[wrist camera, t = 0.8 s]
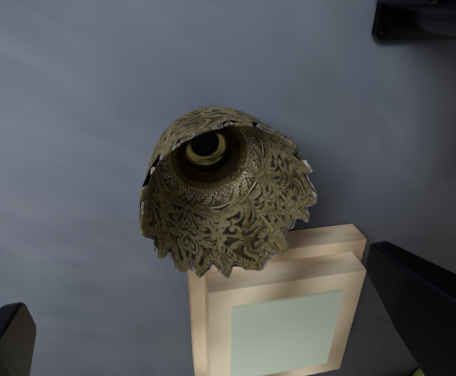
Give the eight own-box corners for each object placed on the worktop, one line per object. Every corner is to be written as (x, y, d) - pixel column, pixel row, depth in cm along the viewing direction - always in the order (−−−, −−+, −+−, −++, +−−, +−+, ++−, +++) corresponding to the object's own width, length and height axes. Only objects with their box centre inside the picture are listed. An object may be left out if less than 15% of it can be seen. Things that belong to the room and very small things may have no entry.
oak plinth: (352, 223, 27) (384, 258, 23) (327, 334, 33) (349, 375, 29) (185, 243, 24) (192, 285, 21) (192, 358, 30) (198, 407, 27)
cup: (220, 211, 23) (250, 299, 17) (119, 164, 20) (105, 248, 14) (285, 121, 21) (351, 179, 14) (183, 53, 18) (206, 85, 11)
